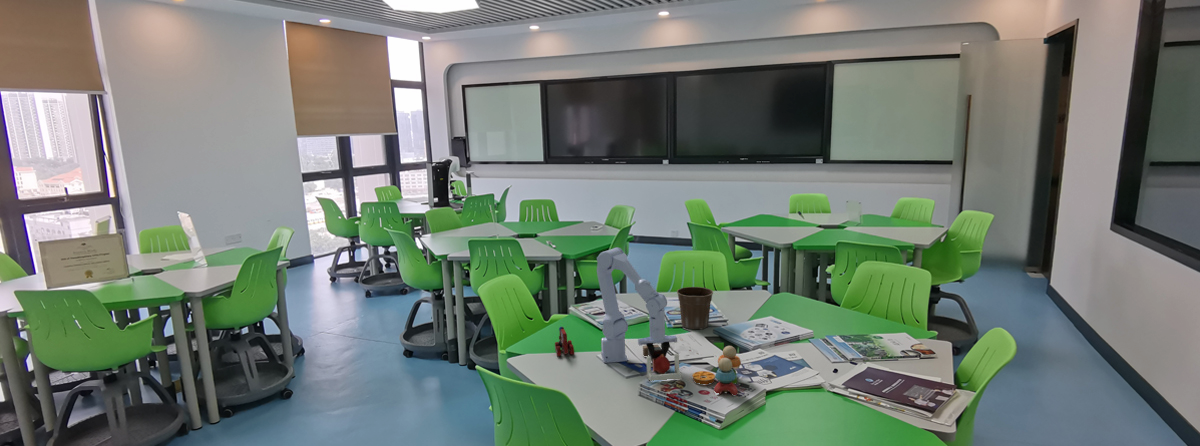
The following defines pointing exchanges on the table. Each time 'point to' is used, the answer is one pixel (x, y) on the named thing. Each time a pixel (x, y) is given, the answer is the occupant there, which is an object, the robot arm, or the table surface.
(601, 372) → the table surface
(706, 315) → the plant pot
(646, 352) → the tan rectangular collar
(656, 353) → the rod
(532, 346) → the table surface
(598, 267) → the robot arm
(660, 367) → the onion
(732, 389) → the wooden toy figures
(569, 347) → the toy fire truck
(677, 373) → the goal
